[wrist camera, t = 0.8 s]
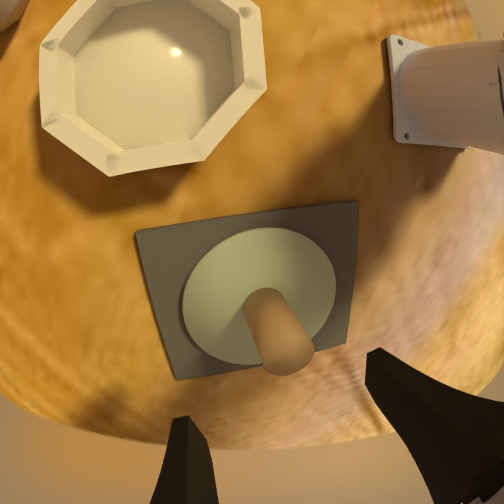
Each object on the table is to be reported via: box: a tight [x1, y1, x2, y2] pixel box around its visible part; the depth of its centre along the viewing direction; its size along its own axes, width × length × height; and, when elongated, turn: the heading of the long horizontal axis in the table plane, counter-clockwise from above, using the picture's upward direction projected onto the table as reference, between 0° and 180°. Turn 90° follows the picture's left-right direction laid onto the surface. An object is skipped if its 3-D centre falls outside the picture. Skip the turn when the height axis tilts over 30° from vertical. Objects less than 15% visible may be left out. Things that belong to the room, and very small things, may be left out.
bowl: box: [39, 0, 267, 177], centre depth 12 cm, size 11×11×3 cm
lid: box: [182, 226, 336, 376], centre depth 17 cm, size 10×10×6 cm
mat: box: [136, 201, 359, 381], centre depth 20 cm, size 14×12×1 cm
